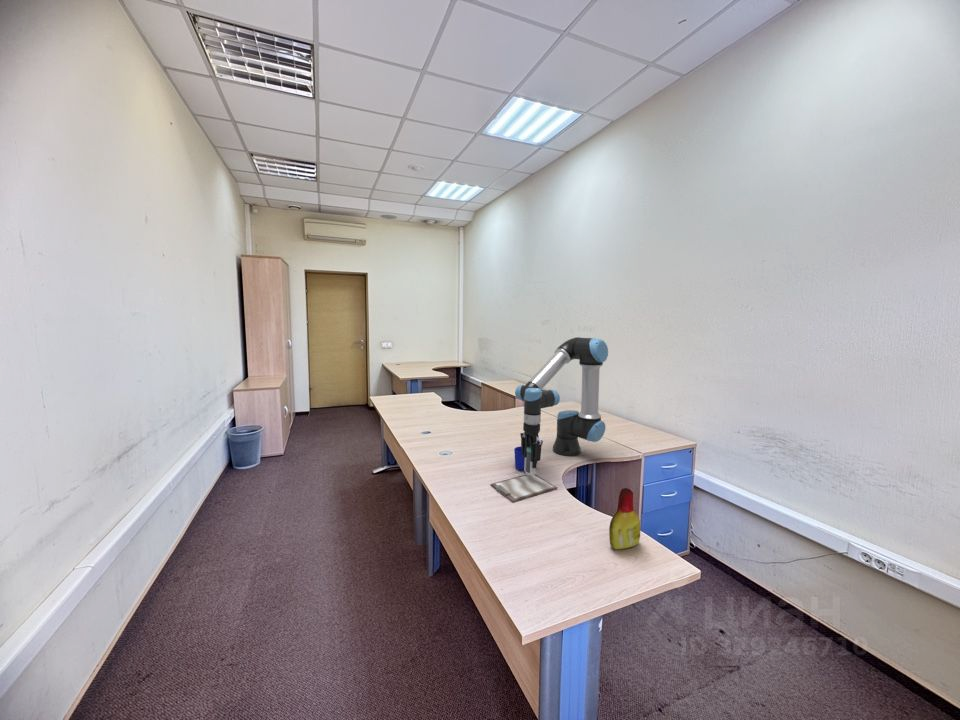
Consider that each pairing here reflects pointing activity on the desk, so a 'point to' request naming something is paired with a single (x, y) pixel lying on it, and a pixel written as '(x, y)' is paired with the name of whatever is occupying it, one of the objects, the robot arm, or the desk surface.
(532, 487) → the clipboard
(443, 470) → the desk surface
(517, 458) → the mug
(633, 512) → the bottle
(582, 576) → the desk surface
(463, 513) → the desk surface
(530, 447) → the marker
